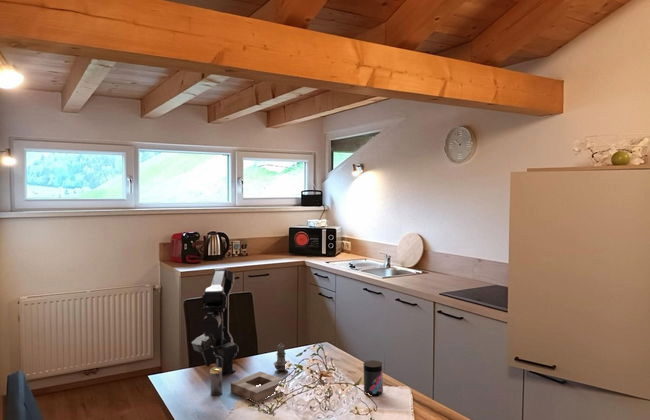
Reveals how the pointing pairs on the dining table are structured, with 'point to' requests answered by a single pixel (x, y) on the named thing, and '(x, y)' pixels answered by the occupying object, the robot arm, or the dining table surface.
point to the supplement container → (373, 377)
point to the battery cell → (216, 381)
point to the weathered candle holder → (280, 360)
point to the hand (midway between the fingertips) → (215, 369)
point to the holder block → (249, 389)
